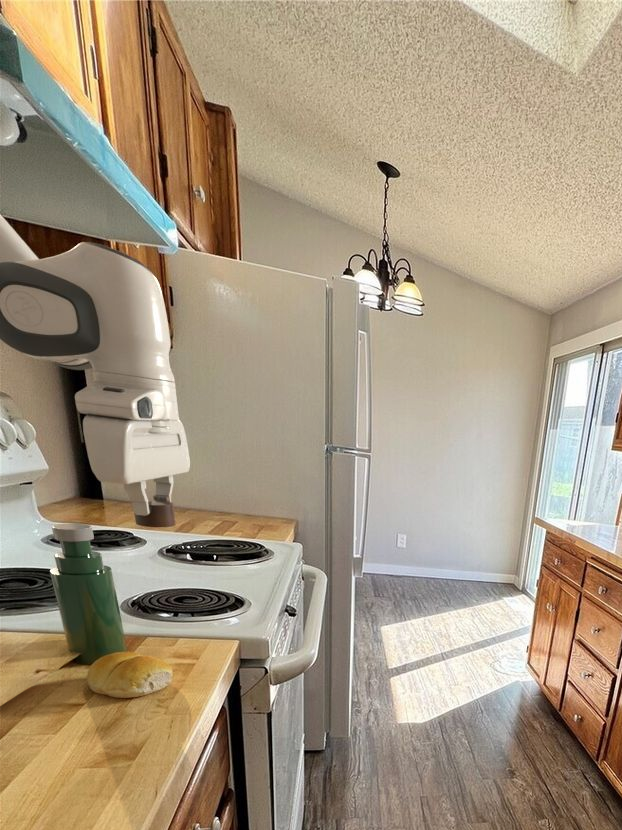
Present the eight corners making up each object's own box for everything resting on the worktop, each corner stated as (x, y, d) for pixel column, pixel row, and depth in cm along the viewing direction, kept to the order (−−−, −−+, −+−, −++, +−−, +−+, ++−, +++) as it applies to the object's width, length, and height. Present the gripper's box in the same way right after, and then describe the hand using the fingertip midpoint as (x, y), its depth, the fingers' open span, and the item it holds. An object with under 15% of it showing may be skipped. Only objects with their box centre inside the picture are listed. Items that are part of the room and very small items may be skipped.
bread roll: (131, 666, 74) (126, 638, 73) (185, 680, 72) (181, 652, 71) (70, 689, 67) (62, 659, 65) (128, 706, 65) (121, 675, 63)
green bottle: (59, 663, 73) (26, 528, 66) (87, 645, 79) (59, 519, 72) (112, 665, 74) (85, 533, 67) (136, 648, 80) (113, 524, 73)
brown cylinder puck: (129, 525, 76) (125, 502, 75) (145, 519, 80) (142, 498, 79) (166, 528, 77) (163, 506, 75) (181, 523, 81) (178, 501, 80)
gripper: (149, 401, 81) (162, 499, 87) (64, 395, 62) (88, 520, 68) (196, 407, 82) (205, 504, 88) (125, 403, 63) (144, 525, 69)
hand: (153, 511), depth 78 cm, fingers closed on brown cylinder puck, 5 cm apart
